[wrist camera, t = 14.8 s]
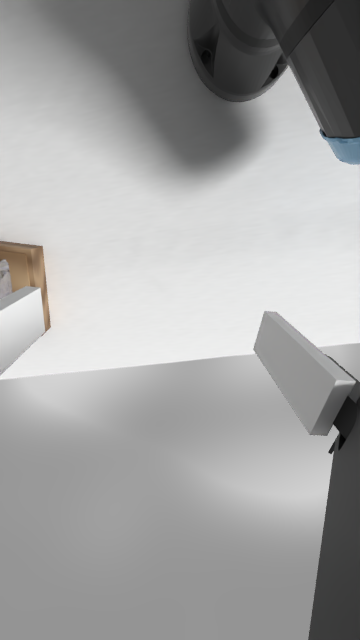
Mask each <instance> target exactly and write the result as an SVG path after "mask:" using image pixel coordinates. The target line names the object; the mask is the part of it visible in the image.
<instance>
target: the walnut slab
mask: <svg viewBox="0 0 360 640" xmlns="http://www.w3.org/2000/svg"><path fill="white" fill-rule="evenodd" d="M3 259H6V261H7V262H8V264H9V271H10V276H11V283H12V292H15V291H17V290H19V289H21V288H23V287H25V286H30V287H39V288H41V297H42V306H43V315H44V324H45V332H46V331H47V330H48V329H49V328H50V327H51V326H50V316H49V306H48V296H47V286H46V276H45V266H44V256H43V246H36V245H28V244H20V243H12V242H4V241H0V261H1V260H3ZM45 332H44V333H45ZM44 333H43V334H44ZM43 334H42V335H43ZM42 335H41V336H42Z"/></svg>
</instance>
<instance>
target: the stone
mask: <svg viewBox="0 0 360 640" xmlns="http://www.w3.org/2000/svg"><path fill="white" fill-rule="evenodd" d="M11 293H13V292H12V283H11V276H10V271H9V264H8V262H7V261H6V259H3V260H1V261H0V299H2V298H3V297H5V296H7V295H9V294H11Z"/></svg>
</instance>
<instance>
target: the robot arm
mask: <svg viewBox="0 0 360 640" xmlns="http://www.w3.org/2000/svg"><path fill="white" fill-rule="evenodd" d="M187 30H188V43H189V49H190V54H191V57H192V61H193V63H194V66H195V68H196V71H197V73H198V74H199V76H200V78H201V79H202V81H203V82H204V84H205V85H206V86H207V87H208V88H209V89H210V90H211V91H212V92H213V93H215V94H216V95H218V96H219V97H221V98H223V99H226V100H230V101H237V102H241V101H248V100H251V99H254V98H256V97H258V96H260V95H262V94H263V93H265V92H266V91H267V90H268V89H270V88H271V87H272V86H273V85H274V84H275V82H276V81H277V80H278V79H279V78H280V76H281V75H282V74H283V73H284V71H285V70H286V69H287V67H288V66H290V68H291V70H292V72H293V74H294V76H295V78H296V80H297V82H298V84H299V86H300V88H301V90H302V92H303V94H304V96H305V98H306V101H307V103H308V105H309V107H310V109H311V111H312V113H313V115H314V117H315V119H316V121H317V123H318V125H319V127H320V134H321V136H322V137H323V138H324V139H325V140H326V141H327V142H328V143H329V145H330V147H331V149H332V150H333V152H334V154H335V156H336V157H337V158H338V159H339V160H340V161H342V162H346V163H348V164H353V165H354V164H360V0H190V4H189V12H188V26H187ZM44 332H45V324H44V315H43V306H42V297H41V288H39V287H30V286H25V287H23V288H21V289H19V290H17V291H15V292H13V293H11V294H9V295H7V296H5V297H3V298H2V299H0V375H1V374H2V373H3V372H4V371H5V370H6V369H7V368H8V367H10V366H11V365H12V364H13V363H14V362H15V361H16V360H17V359H18V358H19V357H20V356H21V355H22V354H23V353H24V352H25V351H26V350H27V349H28V348H29V347H30V346H31V345H32V344H33V343H34V342H35V341H36V340H37V339H38V338H39V337H40V336H41V335H42V334H43V333H44ZM253 350H254V351H255V353H256V354H257V356H258V357H259V359H260V360H261V362H262V363H263V365H264V366H265V368H266V369H267V371H268V372H269V374H270V375H271V377H272V378H273V380H274V381H275V383H276V385H277V386H278V388H279V389H280V391H281V392H282V394H283V395H284V397H285V398H286V399H287V401H288V403H289V404H290V406H291V407H292V409H293V410H294V412H295V413H296V415H297V416H298V418H299V419H300V421H301V422H302V424H303V426H304V427H305V429H306V430H307V432H308V433H309V434H310V435H324V436H327V435H328V433H329V431H330V429H331V427H332V425H333V424H334V426H336V428H337V429H338V430H339V435H338V436H337V438H336V440H335V442H334V443H333V445H332V447H331V448H330V450H329V453H330V454H332V452H333V451H334V455H333V463H332V470H331V477H330V485H329V492H328V499H327V506H326V514H325V522H324V528H323V536H322V544H321V551H320V558H319V565H318V573H317V580H316V588H315V595H314V602H313V610H312V617H311V625H310V632H309V639H308V640H360V382H359V381H358V380H357V379H355V378H354V377H353V376H352V375H351V374H349V373H348V372H347V371H345V369H344V368H343V367H341V366H339V365H338V363H337V362H336V361H334V360H333V359H332V358H331V357H329V356H327V355H325V354H324V353H323V352H322V351H320V350H319V349H318V348H317V347H316V346H315V345H314V344H312V343H311V342H310V341H309V340H308V339H307V338H306V337H304V336H303V335H302V334H301V333H300V332H299V331H297V330H296V329H295V328H294V327H293V326H292V325H291V324H289V323H288V322H287V321H286V320H285V319H284V318H283V317H281V316H280V315H279V314H278V313H277V312H270V311H265V312H264V315H263V318H262V322H261V325H260V328H259V332H258V335H257V338H256V342H255V345H254V349H253Z"/></svg>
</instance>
